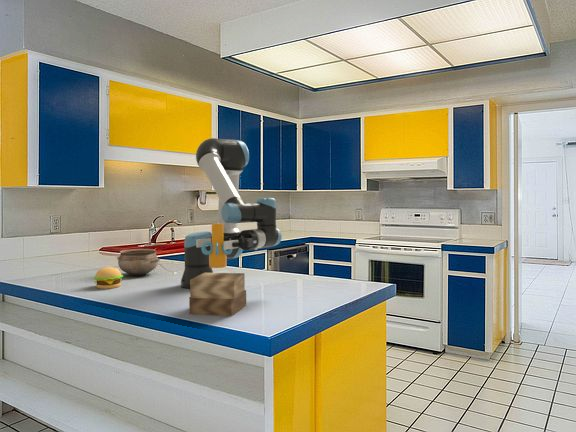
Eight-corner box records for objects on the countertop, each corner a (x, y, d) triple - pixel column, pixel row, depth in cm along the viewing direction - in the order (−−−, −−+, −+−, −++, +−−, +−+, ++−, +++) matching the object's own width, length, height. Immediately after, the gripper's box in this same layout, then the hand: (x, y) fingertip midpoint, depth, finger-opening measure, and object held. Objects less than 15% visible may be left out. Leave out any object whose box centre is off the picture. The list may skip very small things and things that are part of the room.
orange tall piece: (204, 264, 164) (203, 222, 163) (233, 263, 165) (233, 222, 164) (200, 269, 151) (200, 224, 151) (232, 269, 152) (232, 224, 152)
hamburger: (128, 285, 204) (128, 265, 204) (111, 290, 193) (111, 270, 192) (105, 283, 207) (105, 264, 207) (87, 288, 196) (87, 268, 196)
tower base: (189, 314, 154) (189, 297, 154) (207, 304, 169) (207, 288, 168) (231, 317, 150) (231, 299, 150) (246, 306, 165) (246, 290, 165)
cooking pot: (170, 273, 234) (170, 249, 233) (147, 280, 216) (146, 254, 215) (130, 270, 242) (130, 247, 242) (104, 276, 225) (104, 252, 224)
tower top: (190, 297, 152) (190, 279, 152) (204, 288, 167) (204, 272, 167) (234, 299, 151) (234, 280, 150) (244, 289, 165) (244, 273, 165)
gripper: (277, 251, 166) (237, 258, 148) (227, 247, 180) (185, 253, 162) (277, 230, 165) (237, 235, 148) (226, 228, 179) (185, 232, 162)
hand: (210, 244), depth 155 cm, fingers closed on orange tall piece, 12 cm apart
